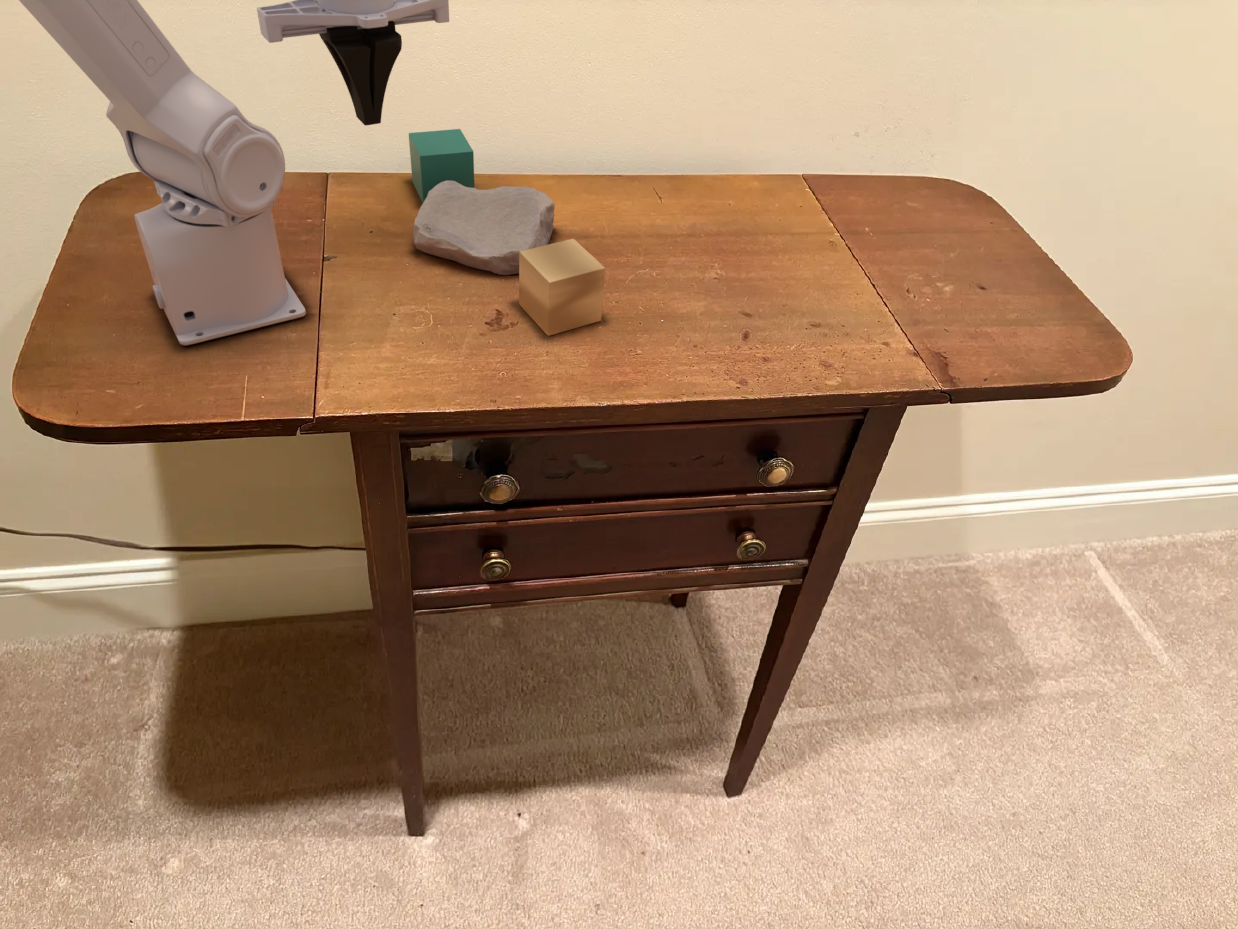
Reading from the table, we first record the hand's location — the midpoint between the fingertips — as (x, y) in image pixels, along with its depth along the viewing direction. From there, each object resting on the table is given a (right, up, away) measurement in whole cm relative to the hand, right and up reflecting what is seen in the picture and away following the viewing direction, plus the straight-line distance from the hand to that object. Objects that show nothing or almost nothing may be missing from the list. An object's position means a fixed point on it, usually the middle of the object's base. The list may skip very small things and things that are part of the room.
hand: (368, 119), depth 77 cm
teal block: (+4, -2, +13) cm, 14 cm away
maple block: (+16, -16, -1) cm, 23 cm away
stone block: (+9, -9, +6) cm, 14 cm away
